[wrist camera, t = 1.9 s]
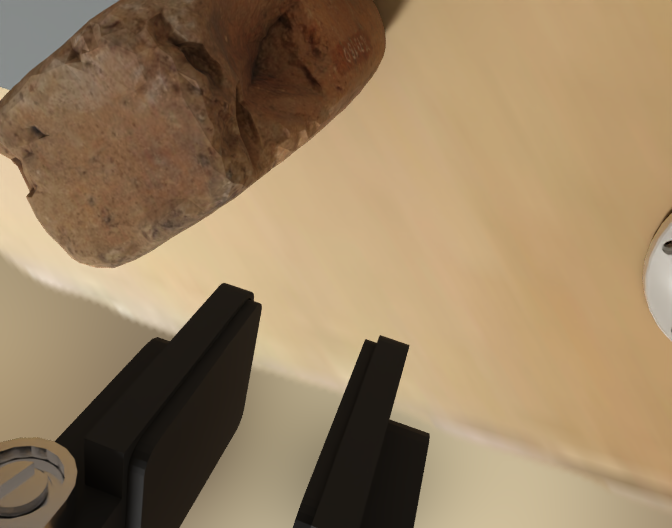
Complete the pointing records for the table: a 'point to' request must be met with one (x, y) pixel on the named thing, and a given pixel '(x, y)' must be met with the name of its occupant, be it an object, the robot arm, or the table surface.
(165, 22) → the pitted brown stone
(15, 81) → the mat
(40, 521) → the robot arm
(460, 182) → the table surface
